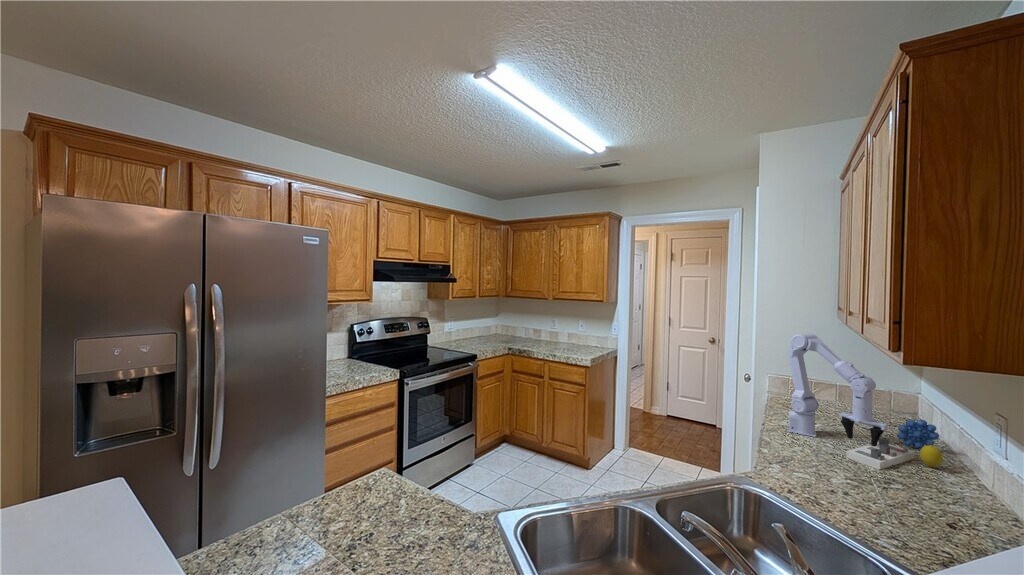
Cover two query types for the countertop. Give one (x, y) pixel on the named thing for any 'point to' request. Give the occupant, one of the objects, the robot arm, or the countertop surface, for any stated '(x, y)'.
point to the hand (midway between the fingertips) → (861, 441)
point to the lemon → (931, 456)
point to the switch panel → (884, 460)
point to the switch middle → (884, 448)
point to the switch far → (883, 441)
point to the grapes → (917, 433)
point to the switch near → (875, 453)
